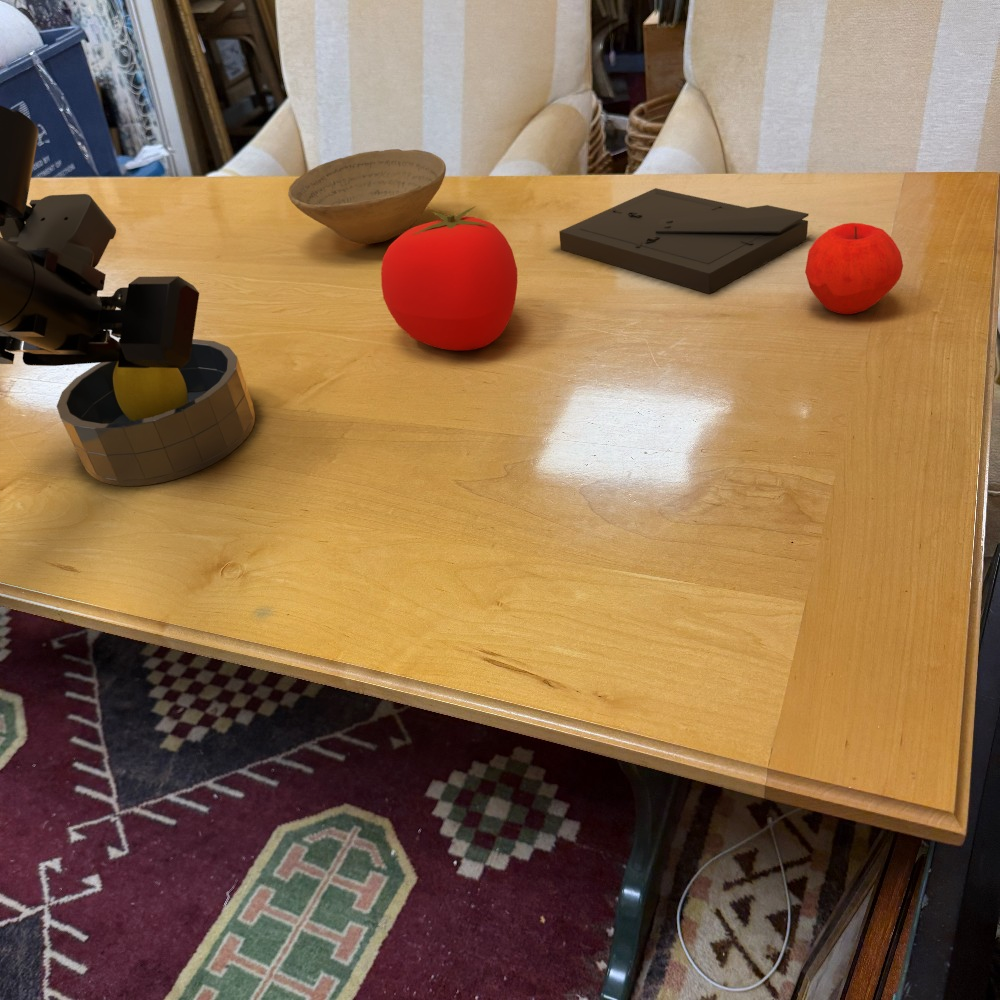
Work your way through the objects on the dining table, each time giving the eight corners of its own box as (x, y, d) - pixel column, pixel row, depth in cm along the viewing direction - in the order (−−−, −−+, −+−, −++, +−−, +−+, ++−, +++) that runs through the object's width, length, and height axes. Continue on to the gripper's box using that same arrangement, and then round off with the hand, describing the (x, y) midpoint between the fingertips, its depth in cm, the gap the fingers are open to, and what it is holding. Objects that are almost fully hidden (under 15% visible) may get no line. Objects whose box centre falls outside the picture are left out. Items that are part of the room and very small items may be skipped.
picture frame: (806, 240, 95) (655, 205, 109) (808, 213, 93) (655, 181, 107) (709, 294, 88) (560, 249, 101) (709, 266, 86) (558, 224, 99)
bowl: (353, 282, 101) (337, 211, 96) (278, 246, 113) (260, 182, 109) (484, 229, 109) (474, 162, 104) (400, 201, 121) (388, 140, 117)
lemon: (189, 408, 81) (159, 325, 76) (206, 432, 77) (176, 346, 72) (127, 430, 79) (93, 346, 74) (141, 456, 75) (106, 369, 70)
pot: (70, 502, 72) (40, 444, 69) (98, 412, 84) (74, 359, 80) (254, 462, 73) (233, 404, 70) (256, 380, 85) (239, 326, 82)
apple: (915, 306, 80) (928, 225, 76) (851, 336, 78) (861, 253, 73) (844, 280, 86) (853, 203, 82) (782, 307, 83) (788, 228, 79)
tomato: (428, 385, 80) (404, 261, 73) (378, 329, 90) (352, 216, 84) (552, 343, 83) (539, 221, 77) (490, 294, 94) (474, 183, 87)
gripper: (136, 164, 59) (262, 260, 73) (-89, 175, 64) (71, 263, 79) (110, 331, 57) (243, 394, 72) (-118, 328, 62) (51, 388, 77)
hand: (149, 355), depth 75 cm, fingers closed on lemon, 4 cm apart
